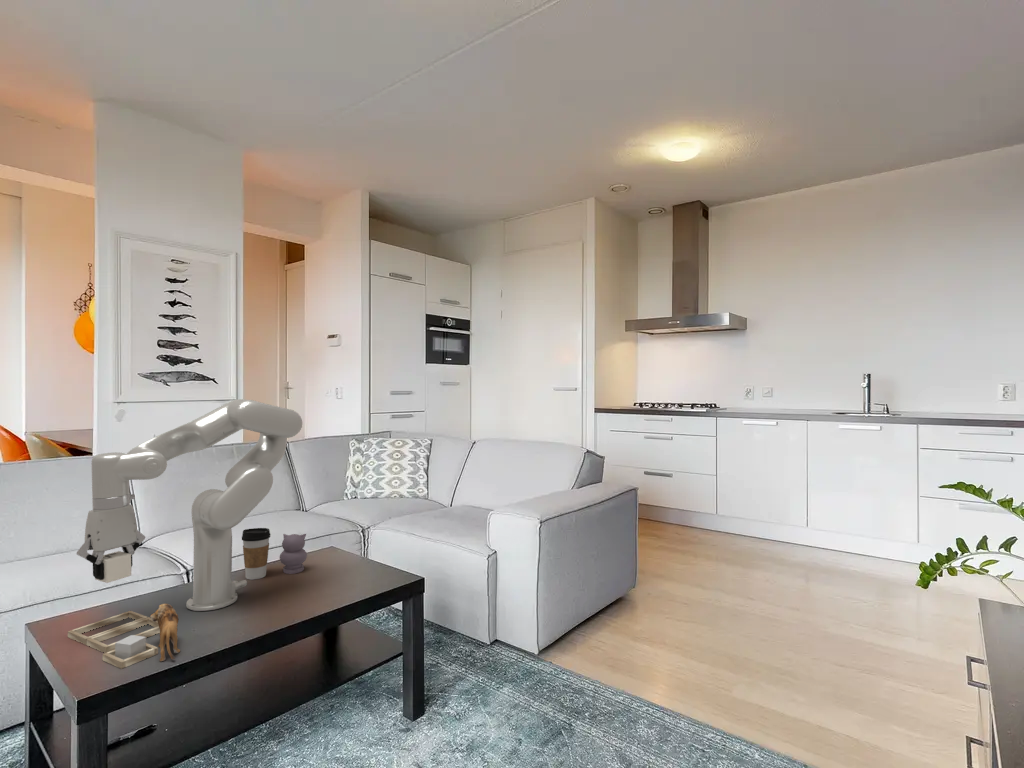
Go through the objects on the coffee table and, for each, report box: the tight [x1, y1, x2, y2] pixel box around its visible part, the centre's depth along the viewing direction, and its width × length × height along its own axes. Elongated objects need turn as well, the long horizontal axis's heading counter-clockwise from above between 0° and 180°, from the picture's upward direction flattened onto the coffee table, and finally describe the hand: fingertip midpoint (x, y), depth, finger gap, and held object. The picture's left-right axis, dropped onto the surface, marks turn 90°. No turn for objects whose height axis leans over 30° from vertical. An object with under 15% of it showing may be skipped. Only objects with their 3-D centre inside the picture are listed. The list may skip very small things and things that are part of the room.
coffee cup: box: [241, 527, 272, 580], centre depth 176 cm, size 8×8×15 cm
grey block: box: [114, 634, 147, 660], centre depth 123 cm, size 4×4×4 cm
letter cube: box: [94, 550, 132, 584], centre depth 137 cm, size 6×6×6 cm
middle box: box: [85, 616, 160, 654], centre depth 133 cm, size 14×8×1 cm, turn 152°
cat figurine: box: [279, 533, 308, 575], centre depth 182 cm, size 9×8×12 cm
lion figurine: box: [149, 603, 181, 662], centre depth 127 cm, size 15×5×9 cm, turn 42°
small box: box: [102, 642, 159, 670], centre depth 123 cm, size 8×8×1 cm
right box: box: [67, 610, 150, 646], centre depth 137 cm, size 14×8×1 cm, turn 152°
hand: (113, 573), depth 137 cm, fingers closed on letter cube, 5 cm apart
